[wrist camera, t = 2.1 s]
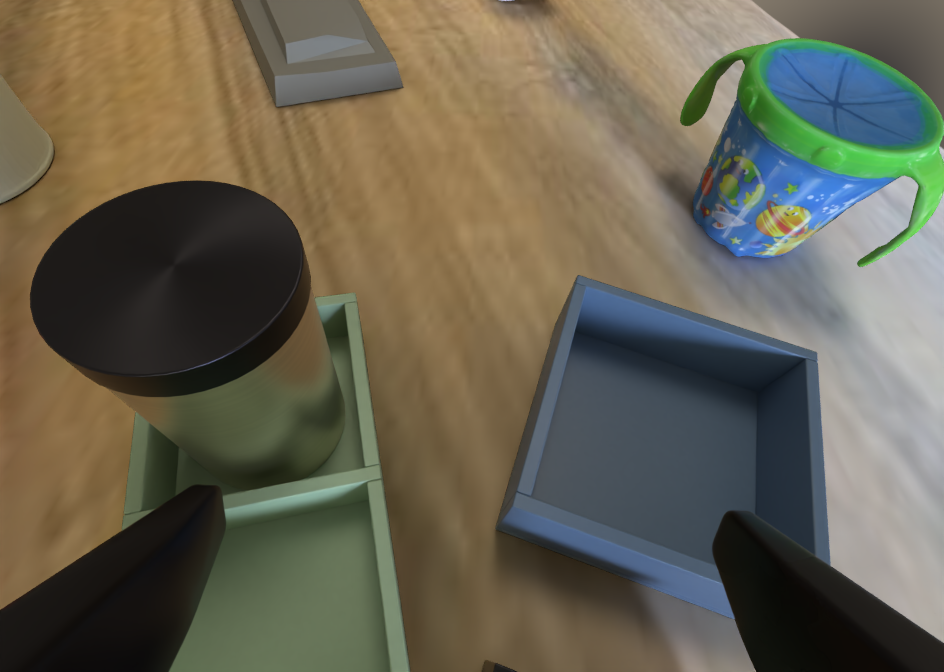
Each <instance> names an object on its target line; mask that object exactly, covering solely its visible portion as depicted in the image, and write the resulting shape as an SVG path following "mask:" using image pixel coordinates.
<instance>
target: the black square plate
mask: <svg viewBox="0 0 944 672" xmlns="http://www.w3.org/2000/svg"><path fill="white" fill-rule="evenodd" d="M482 672H517V671H515V670H512V669H510V668H507V667H505V666H502V665H500V664H497V663H494V662H491V661H487V660H485V662H484V666H483V670H482Z"/></svg>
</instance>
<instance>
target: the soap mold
mask: <svg viewBox="0 0 944 672" xmlns="http://www.w3.org/2000/svg"><path fill="white" fill-rule="evenodd" d="M233 2H234V5H235V7H236V9H237V12H238V14H239V17H240V19H241V22H242V24H243V27H244V29H245V32H246V34H247V36H248V39H249V41H250V44H251V46H252V49H253V51H254V54H255V56H256V58H257V61H258V63H259V66H260V68H261V71H262V73H263V76H264V78H265V81H266V83H267V85H268V88H269V90H270V93H271V95H272V98H273V100H274V103H275V105H276V107H280V106H286V105H293V104H299V103H306V102H312V101H318V100H325V99H331V98H337V97H344V96H350V95H357V94H363V93H369V92H376V91H382V90H388V89H395V88H401V87H403V84H402V81H401V77H400V74H399V71H398V68H397V64H396V61H395V60H394V58H393V56H392V55H391V53H390V51H389V50H388V48H387V46H386V45H385V43H384V42H383V40H382V38H381V37H380V35H379V33H378V32H377V30H376V29H375V27H374V25H373V24H372V22H371V20H370V19H369V17H368V15H367V14H366V12H365V11H364V9H363V7H362V6H361V4H360V2H359V1H358V0H233Z"/></svg>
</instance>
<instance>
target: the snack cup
mask: <svg viewBox="0 0 944 672" xmlns="http://www.w3.org/2000/svg"><path fill="white" fill-rule="evenodd" d="M741 59H742V61H743V62H744V64H745V69H744V71H743V73H742V76H741V78H740V81H739V85H738V90H737V98H736V99H737V100H736V101H735V103H734V106H733V108H732V109H731V113H730V115H729V117H728V119H727V121H726V123H725V125H724V127H723V130H722V132H721V134H720V136H719V139H718V141H717V143H716V145H715V148H714V150H713V152H712V154H711V157H710V159H709V163H708V165H707V167H706V168H705V170H704V172H703V175H702V177H701V179H700V183H699V186H698V188H697V190H696V192H695V195H694V199H693V207H694V213H693V217H694V219H695V221H696V223H697V224H699V225H701V226H702V228H703V229H704V230H705V232H706V234H707V235H708V236H710V237H711V238H712V239H714V240H715V241H716V242H718V243H720V244H723V245H725V246H726V247H727V248H728V249H729V250H730V251H731V252H732V253H733V254H734V255H735V256H738V257H740V256H753V257H761V258H770V257H776V256H782V255H784V254H785V253H787V252H789V251H791V250H792V249H794V248H796V247H797V246H798V245H800V244H801V243H802V242H804V241H805V240H807V239H808V238H809V237H811V236H812V235H813V234H815V233H816V232H818V231H819V230H820V229H822V228H823V227H824V226H826V225H827V224H828V223H830V222H831V221H833V220H834V219H836V218H837V217H838V216H839V215H840V214H841V213H843V212H844V211H845V210H846V209H848V208H850V207H851V206H853V205H854V204H855V203H857V202H859V201H861V200H863V199H865V198H866V197H868V196H870V195H871V194H873V193H874V192H876V191H878V190H879V189H881V188H883V187H884V186H886V185H887V184H889V183H891V182H892V181H894V180H896V179H897V178H899V177H901V176H904V175H905V176H908V177H911V178H912V179H914V180H915V181H916V182H917V184H918V185H919V186H918V191H917V194H916V198H915V203H914V206H913V211H912V215H911V219H910V222H909V226H908V228H906V229H905V230H904V231H902V232H901V233H900V234H899V235H897V236H896V237H895V238H894V239H892V240H891V241H890V242H889V243H887V244H886V245H884V246H881V247H878V248H877V249H875V250H874V251H872V252H871V253H870V254H868V255H866V256H865V257H863V258H862V259H860V260H859V261H858V263H857V265H858V266H859V267H863V266H865V265H868V264H870V263H872V262H874V261H876V260H878V259H879V258H881V257H883V256H885V255H887V254H888V253H890V252H891V251H893V250H894V249H896V248H897V247H899V246H900V245H901V244H902V243H903V242H905V241H906V240H908V239H909V238H910V237H912V236H913V235H914V234H915V233H917V232H918V231H919V230H920V229H921V228H922V227H923V226H924V225H925V223H926V222H927V221H928V220H929V218H930V217H931V216H932V215H933V213H934V211H935V210H936V208H937V206H938V204H939V202H940V200H941V197H942V195H943V192H944V162H943V159H942V157H941V154H940V151H939V144H940V142H941V140H942V137H943V135H944V123H943V119H942V116H941V114H940V112H939V110H938V109H937V108H936V106H935V104H934V103H933V101H932V100H931V99H930V98H929V97H928V96H927V95H926V94H925V93H924V91H923V90H922V89H920V88H919V87H918V86H917V85H916V84H915V83H914V82H912V81H911V80H910V79H908V78H907V77H906V76H904V75H903V74H901V73H900V72H899V71H897V70H895V69H894V68H892V67H890V66H888V65H887V64H885V63H883V62H881V61H879V60H877V59H875V58H873V57H871V56H868V55H866V54H864V53H861V52H859V51H856V50H854V49H851V48H847V47H845V46H842V45H837V44H834V43H830V42H825V41H820V40H813V39H801V38H795V39H783V40H778V41H774V42H771V43H768V44H762V45H756V46H751V47H747V48H744V49H741V50H737V51H735V52H733V53H730V54H728V55H726V56H724V57H723V58H721V59H720V60H718V61H717V62H715V63H714V64H713V65H712V66H711V67H710V68H709V69H708V70H707V71H706V72H705V74H704V75H703V76H702V77H701V79H700V80H699V81H698V83H697V84H696V85H695V87H694V89H693V90H692V92H691V93H690V95H689V97H688V98H687V100H686V102H685V104H684V107H683V109H682V112H681V118H680V121H681V124H682V125H684V126H690V125H692V124H694V123H696V122H697V121H698V120H699V119H701V118H702V117H703V115H704V114H705V112H706V110H707V108H708V106H709V103H710V101H711V98H712V95H713V92H714V89H715V85H716V82H717V80H718V79H719V78H720V77H721V76H722V75H723V74H724V73H725V72H726V70H727V69H728V68H729V67H730V66H731V65H732V64H733V63H734V62H735V61H738V60H741Z"/></svg>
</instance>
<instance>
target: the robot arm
mask: <svg viewBox="0 0 944 672" xmlns="http://www.w3.org/2000/svg"><path fill="white" fill-rule="evenodd" d="M225 530H226V516H225V509H224V502H223V495H222V491H221V488H220V487H219V486H217V485H207V484H195V485H192V486H190V487H188V488H187V489H185V490H184V491H182V492H181V493H179V494H178V495H176V496H175V497H173V498H171V499H170V500H168V501H167V502H165V503H164V504H162V505H161V506H159V507H158V508H156V509H155V510H153V511H151V512H150V513H148V514H147V515H145V516H144V517H142V518H141V519H139V520H138V521H136V522H135V523H133V524H132V525H130V526H128V527H127V528H125V529H124V530H122V531H121V532H119V533H118V534H116V535H115V536H113V537H112V538H110V539H108V540H107V541H105V542H104V543H102V544H101V545H99V546H98V547H96V548H95V549H93V550H92V551H90V552H89V553H87V554H85V555H84V556H82V557H81V558H79V559H78V560H76V561H75V562H73V563H72V564H70V565H69V566H67V567H65V568H64V569H62V570H61V571H59V572H58V573H56V574H55V575H53V576H52V577H50V578H49V579H47V580H46V581H44V582H42V583H41V584H39V585H38V586H36V587H35V588H33V589H32V590H30V591H29V592H27V593H26V594H24V595H23V596H21V597H19V598H18V599H16V600H15V601H13V602H12V603H10V604H9V605H7V606H6V607H4V608H3V609H1V610H0V672H169V671H170V669H171V667H172V665H173V662H174V660H175V658H176V656H177V654H178V652H179V650H180V648H181V646H182V644H183V642H184V640H185V637H186V635H187V633H188V631H189V629H190V626H191V624H192V621H193V619H194V616H195V614H196V611H197V609H198V606H199V603H200V600H201V598H202V595H203V592H204V589H205V587H206V584H207V581H208V578H209V576H210V573H211V570H212V567H213V565H214V562H215V559H216V556H217V554H218V551H219V548H220V545H221V543H222V540H223V537H224V534H225ZM712 553H713V557H714V560H715V563H716V566H717V569H718V572H719V575H720V578H721V581H722V584H723V586H724V589H725V592H726V595H727V598H728V601H729V604H730V607H731V610H732V613H733V615H734V618H735V621H736V624H737V627H738V630H739V632H740V635H741V638H742V640H743V643H744V645H745V647H746V650H747V652H748V654H749V657H750V659H751V661H752V663H753V666H754V668H755V670H756V672H944V643H943V642H941V641H940V640H938V639H937V638H935V637H934V636H932V635H931V634H929V633H928V632H927V631H925V630H924V629H922V628H921V627H919V626H918V625H916V624H915V623H913V622H912V621H910V620H909V619H907V618H906V617H905V616H903V615H902V614H900V613H899V612H897V611H896V610H894V609H893V608H891V607H890V606H888V605H887V604H886V603H884V602H883V601H881V600H880V599H878V598H877V597H875V596H874V595H872V594H871V593H869V592H868V591H866V590H865V589H864V588H862V587H861V586H859V585H858V584H856V583H855V582H853V581H852V580H850V579H849V578H847V577H846V576H844V575H843V574H842V573H840V572H839V571H837V570H836V569H834V568H833V567H831V566H830V565H828V564H827V563H825V562H824V561H823V560H821V559H820V558H818V557H817V556H815V555H814V554H812V553H811V552H809V551H808V550H806V549H805V548H803V547H802V546H801V545H799V544H798V543H796V542H795V541H793V540H792V539H790V538H789V537H787V536H786V535H784V534H783V533H781V532H780V531H779V530H777V529H776V528H774V527H773V526H771V525H770V524H768V523H767V522H765V521H764V520H762V519H761V518H760V517H758V516H757V515H755V514H754V513H752V512H749V511H736V510H730V511H727V512H726V513H725V514H724V515H723V518H722V520H721V522H720V525H719V527H718V530H717V532H716V535H715V537H714V540H713V543H712Z"/></svg>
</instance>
